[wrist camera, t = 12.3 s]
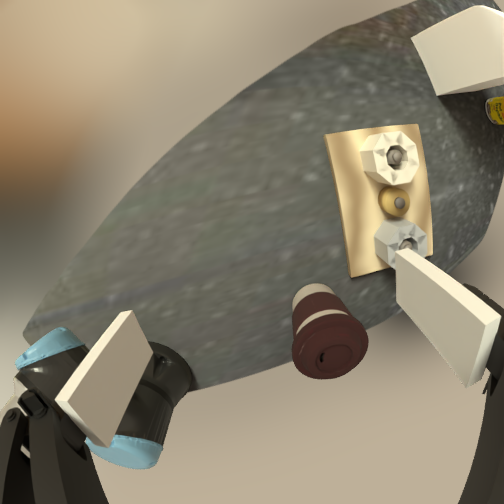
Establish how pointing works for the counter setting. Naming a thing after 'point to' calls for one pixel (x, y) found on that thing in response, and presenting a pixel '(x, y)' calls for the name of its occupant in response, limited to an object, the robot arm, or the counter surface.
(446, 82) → the milk
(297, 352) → the coffee cup
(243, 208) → the counter surface
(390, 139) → the white octagonal block
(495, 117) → the supplement bottle
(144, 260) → the counter surface
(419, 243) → the seated gear
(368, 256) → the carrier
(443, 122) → the counter surface
